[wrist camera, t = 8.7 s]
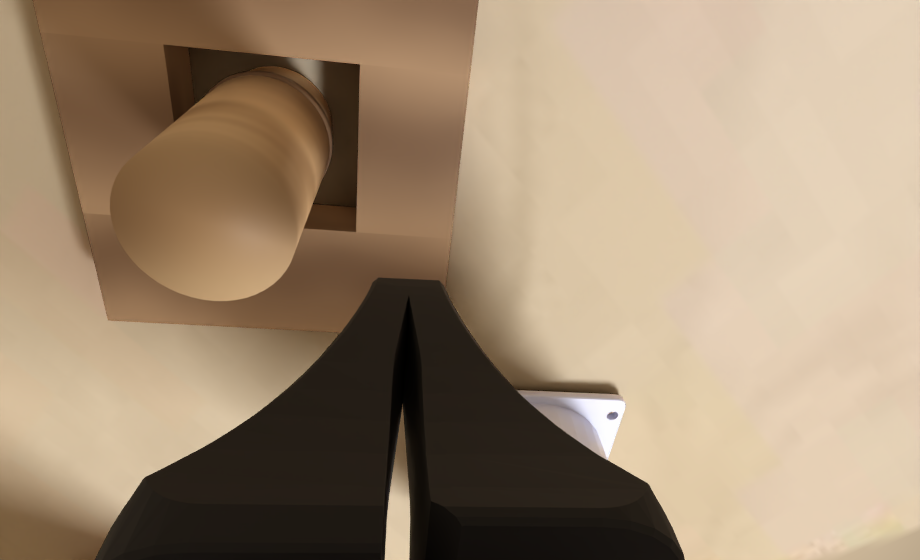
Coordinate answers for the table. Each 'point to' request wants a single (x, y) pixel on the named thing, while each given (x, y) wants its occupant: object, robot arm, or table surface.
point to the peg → (226, 186)
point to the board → (327, 227)
